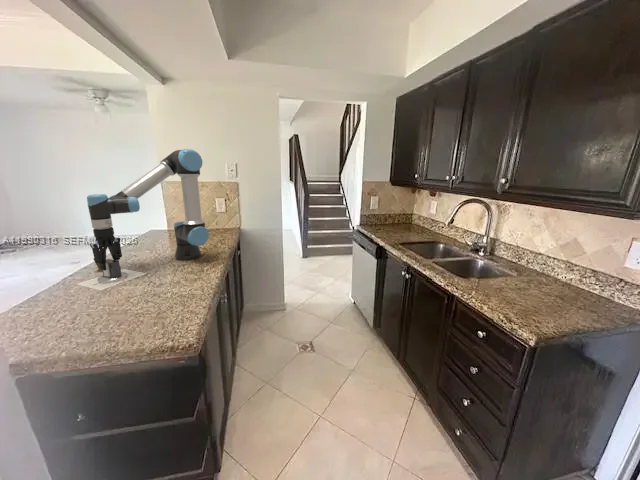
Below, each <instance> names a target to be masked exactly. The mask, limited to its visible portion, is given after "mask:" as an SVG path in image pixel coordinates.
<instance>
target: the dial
mask: <svg viewBox="0 0 640 480" xmlns="http://www.w3.org/2000/svg"><path fill="white" fill-rule="evenodd" d="M106 263H108V266H109V271H110V276H109V277H108V276H104V272H102V274H103V275H101V276H98V277H99V278H98V279H97V281H98V282H99V283H112V282H117V281H120V280H123V279H125V278H127V277H128V274H127V273H126V272H121V270H122V269H121V265H120V260H119V261H116V260H114V259H110V258H106ZM102 271H103V270H102Z"/></svg>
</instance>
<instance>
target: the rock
mask: <svg viewBox="0 0 640 480" xmlns="http://www.w3.org/2000/svg"><path fill="white" fill-rule="evenodd" d="M93 261H94V262H95V259H94V258H93ZM95 265H96V266H97V268H98V270H99V272H100V273H103V271H102V269H101V264H96V263H95Z"/></svg>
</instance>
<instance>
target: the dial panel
mask: <svg viewBox="0 0 640 480" xmlns="http://www.w3.org/2000/svg"><path fill="white" fill-rule="evenodd" d="M121 272H126V273H127V274H128V277H127V278H125V279H123V280H120V281H117V282H112V283H99V282H98V281H97V279H98V278H99V277H100V276H97V277H94V278H92V279H88V280H84V281H81V282H77V283H76V285H78V286H82V287H85V288H90V289H93V290H97V291H102V290H105V289H108V288H110V287H115V286H116V285H119V284H122V283H125V282H128V281H131V280H133V279H136V278H139V277H141V276H144V275H147V273H146V272H140V271H135V270H131V269H125V268H123V269H121Z"/></svg>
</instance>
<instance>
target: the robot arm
mask: <svg viewBox="0 0 640 480" xmlns="http://www.w3.org/2000/svg"><path fill="white" fill-rule="evenodd" d="M202 167H203V159H202V156H201V155H200V154H199V152H198V151H196V150H194V149H192V148H191V149H190V148H189V149H188V148H183V149H177V150H176V149H175V150H174V151H172V152H171V153H170V154H169V155H167V156H166V157H165V158H163V159H162V160H160V161H159V164H158V165H157V166H155V167H154V168H152V169H151V170H149V171H148V172H146V173H145V174H144V175H142V176H141V177H139V178H138V179H136V180H135V181H133V182H132V183H130V184H129V185H128V186H126V187H125V188H124V189H122V190H120V191H119V192H118V193H116V194H115V195H111V196H109V197H108V195H107V194H105V193H103V194H102V193H100V194H98V193H97V194H95V193H94V194H88V195H87V196H86V202H87V207H88V212H89V216H90V217H89V218H90V223H91V227H92V228H93V229H92V232H93V236H94V237H95V240H94V241H95V242H93V243H90V244H89V246H90V249H91V250H92V255H93V260H94V259H95V261H94V262H95V263H94V264H95V265H96V264H101V269H102V270H103V272H104V276H108V277H109V276H110V271H109V266H108V263H106V260H107V250H108V251H109V253H110V255H111V257H112V260H116V261H119V262H120V260H121V258H122V256H123V253H122V247H121V238H120V237H115V231H114V227H113V220H112V215H116V214H128V213H130V214H132V213H137V212H139V211H140V209H141V208H140V201H139V199H140V198H141V197H143V196H144V195H145V194H146V193H148V192H150V191H151V190H152V189H154V188H155V187H156V186H157V185H159V184H160V183H162V182H163V181H165V180H166V179H167V178H169V177H171V176H175V175H176V174H177V176H179V177H180V182H181V193H182V201H183V207H184V208H183V211H184V217H185V220H184V221H177V222H174V224H173V228H174V235H175V237H174V238H175V243H176V250H175V253H174V259H175V260H176V261H177V260H178V261H189V260H194V259H198V258H200V257H202V251H201V249H200V247H201V246H203V245H204V244H206V243H207V242H208V241H209V238H210V232H209V230H208V229H207V227H206V223H205V222H206V221H204V219H202V210H201V202H200V201H201V198H200V190H199V189H200V188H199V187H200V186H199V179H198V178H199V177H200V175H201V168H202ZM199 246H200V247H199ZM103 272H102V273H103Z"/></svg>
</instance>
